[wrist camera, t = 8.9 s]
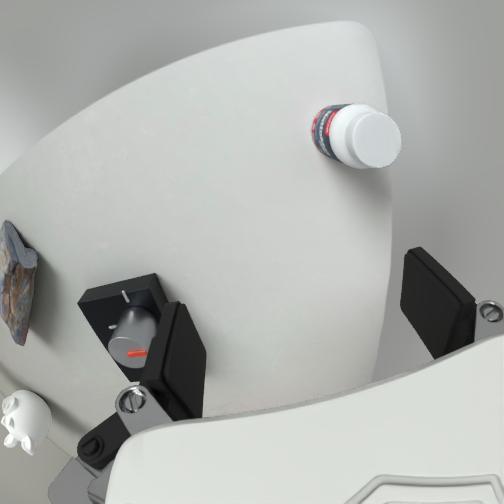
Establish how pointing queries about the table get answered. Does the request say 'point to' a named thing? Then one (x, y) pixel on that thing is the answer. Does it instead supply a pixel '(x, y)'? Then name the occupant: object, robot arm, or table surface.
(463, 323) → the robot arm
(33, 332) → the table surface
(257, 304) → the table surface
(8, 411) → the piggy bank
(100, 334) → the hob panel
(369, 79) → the table surface
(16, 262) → the stone
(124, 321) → the knob
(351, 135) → the pill bottle
